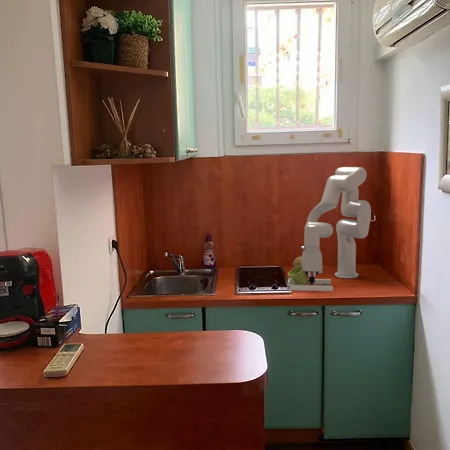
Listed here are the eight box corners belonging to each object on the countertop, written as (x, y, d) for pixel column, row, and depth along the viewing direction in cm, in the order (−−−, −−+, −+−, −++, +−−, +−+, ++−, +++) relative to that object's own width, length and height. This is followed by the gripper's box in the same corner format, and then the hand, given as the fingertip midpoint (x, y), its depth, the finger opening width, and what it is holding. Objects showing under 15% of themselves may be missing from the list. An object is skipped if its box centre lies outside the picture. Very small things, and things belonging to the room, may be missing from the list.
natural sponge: (292, 271, 270) (292, 254, 269) (307, 271, 270) (307, 254, 269) (293, 275, 261) (293, 258, 260) (309, 275, 261) (309, 258, 260)
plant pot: (311, 285, 232) (303, 270, 231) (294, 291, 236) (286, 277, 234) (312, 277, 241) (305, 263, 240) (296, 284, 244) (288, 270, 243)
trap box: (288, 283, 246) (288, 278, 246) (330, 283, 243) (330, 278, 243) (288, 290, 233) (287, 284, 233) (332, 291, 230) (332, 285, 230)
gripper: (297, 250, 232) (297, 285, 234) (327, 250, 230) (327, 286, 233) (296, 247, 239) (296, 281, 242) (326, 247, 237) (325, 282, 240)
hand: (311, 283), depth 237 cm, fingers closed
